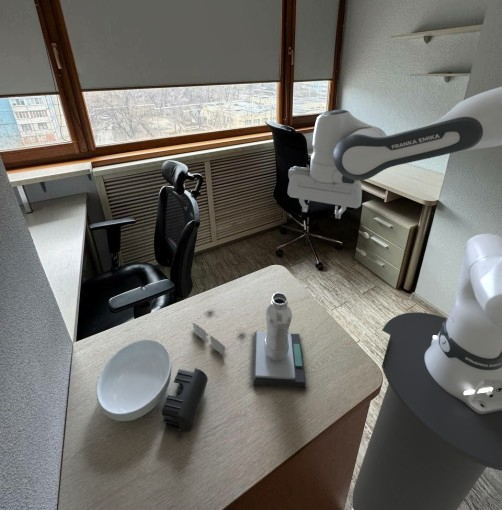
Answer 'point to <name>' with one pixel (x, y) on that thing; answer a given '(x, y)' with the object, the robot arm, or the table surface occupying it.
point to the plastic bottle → (277, 327)
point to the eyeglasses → (215, 342)
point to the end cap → (185, 400)
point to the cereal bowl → (134, 380)
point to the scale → (278, 364)
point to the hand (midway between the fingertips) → (321, 214)
